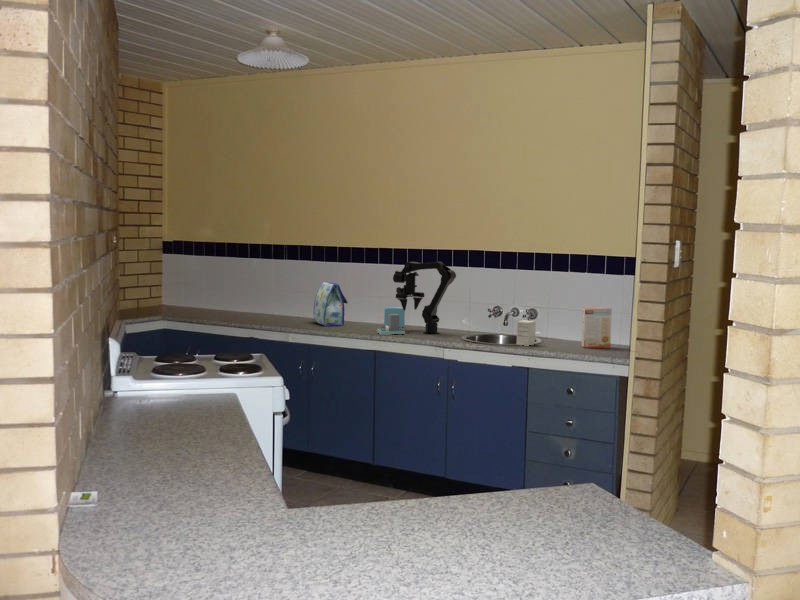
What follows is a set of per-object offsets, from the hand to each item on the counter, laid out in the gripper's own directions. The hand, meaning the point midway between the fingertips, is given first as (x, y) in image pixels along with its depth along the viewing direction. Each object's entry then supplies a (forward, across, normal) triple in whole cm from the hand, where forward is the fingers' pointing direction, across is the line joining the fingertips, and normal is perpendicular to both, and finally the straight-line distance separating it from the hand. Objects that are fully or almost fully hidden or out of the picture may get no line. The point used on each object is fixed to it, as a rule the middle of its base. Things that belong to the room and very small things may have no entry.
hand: (409, 310), depth 465 cm
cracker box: (+13, -32, +105) cm, 111 cm away
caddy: (+12, +17, +2) cm, 21 cm away
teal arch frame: (+13, -6, -19) cm, 24 cm away
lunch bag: (+13, +16, -54) cm, 58 cm away
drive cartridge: (+12, +16, +3) cm, 20 cm away
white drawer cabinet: (+13, -10, +76) cm, 78 cm away
